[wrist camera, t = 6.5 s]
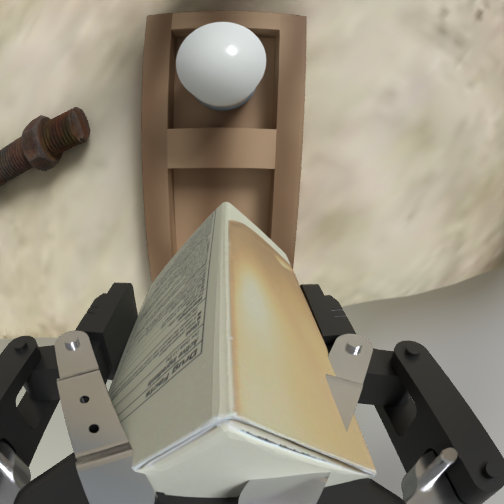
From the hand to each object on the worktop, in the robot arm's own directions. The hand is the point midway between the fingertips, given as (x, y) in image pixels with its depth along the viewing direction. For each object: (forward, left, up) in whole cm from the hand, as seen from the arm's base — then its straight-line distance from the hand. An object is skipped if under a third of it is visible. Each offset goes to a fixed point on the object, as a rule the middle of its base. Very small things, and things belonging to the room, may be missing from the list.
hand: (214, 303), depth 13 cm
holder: (0, -5, -15) cm, 16 cm away
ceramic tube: (0, -11, -15) cm, 18 cm away
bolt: (+19, -6, -16) cm, 25 cm away
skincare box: (0, 0, -4) cm, 4 cm away
